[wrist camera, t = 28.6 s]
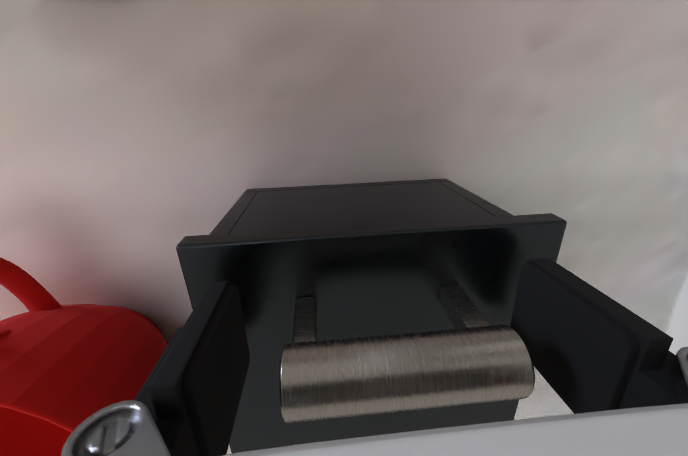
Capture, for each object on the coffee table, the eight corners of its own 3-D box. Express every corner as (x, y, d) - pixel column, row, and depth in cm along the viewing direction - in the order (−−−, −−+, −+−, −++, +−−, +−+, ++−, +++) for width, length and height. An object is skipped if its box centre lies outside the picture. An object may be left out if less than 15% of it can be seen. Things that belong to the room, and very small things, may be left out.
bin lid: (184, 235, 10) (87, 342, 6) (552, 212, 11) (706, 290, 7) (255, 515, 17) (235, 664, 12) (484, 487, 18) (540, 617, 13)
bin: (246, 189, 19) (197, 248, 11) (445, 178, 20) (534, 226, 12) (275, 381, 25) (255, 513, 17) (430, 366, 26) (483, 486, 18)
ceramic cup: (169, 194, 19) (32, 275, 10) (228, 398, 25) (177, 568, 16) (-57, 216, 18) (-434, 326, 9) (60, 421, 25) (-96, 611, 15)
